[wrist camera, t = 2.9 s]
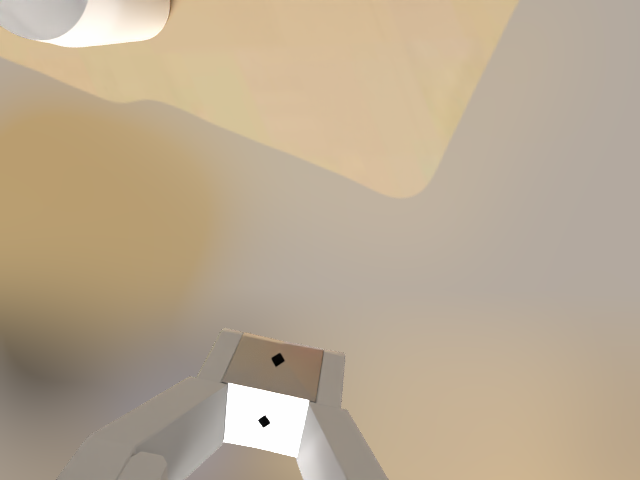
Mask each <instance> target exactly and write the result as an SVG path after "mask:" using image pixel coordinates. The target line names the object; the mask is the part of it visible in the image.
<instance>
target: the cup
mask: <svg viewBox="0 0 640 480" xmlns="http://www.w3.org/2000/svg"><path fill="white" fill-rule="evenodd" d="M169 11H170V0H0V26H2V27H3V28H5V29H6V30H8V31H10V32H11V33H13V34H16V35H18V36H20V37H23V38H27V39H31V40H37V41H42V42H47V43H52V44H56V45H59V46H64V47H87V46H97V45H106V44H115V43H124V42H133V41H142V40H147V39H150V38H152V37H154V36H156V35H157V34H158V33H159V32H160V31H161V30H162V29H163V27H164V26H165V24H166V22H167V19H168V16H169Z"/></svg>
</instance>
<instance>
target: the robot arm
mask: <svg viewBox="0 0 640 480" xmlns="http://www.w3.org/2000/svg"><path fill="white" fill-rule="evenodd" d="M344 366H345V354H344V353H343V352H337V351H332V350H327V349H324V350H323V349H320V348H315V347H311V346H305V345H301V344H296V343H291V342H285V341H280V340H276V339H272V338H268V337H263V336H259V335H254V334H251V333H246V332H245V333H244V332H240V331H236V330H232V329H227V328H224V329H223V330H222V331H221V332H220V334H219V335H218V337H217V339H216V341H215V343H214V345H213V347H212V349H211V351H210V353H209V354H208V356H207V358H206V360H205V362H204V364H203V366H202V368H201V370H200V371H199V373H198V375H197V377H191V376H190V377H188V378H186V379H185V380H183V381H181V382H180V383H178V384H176V385H174V386H173V387H171V388H169V389H168V390H166V391H164V392H162V393H161V394H159V395H157V396H156V397H154V398H152V399H151V400H149V401H147V402H146V403H144V404H142V405H140V406H139V407H137V408H136V409H134V410H132V411H130V412H128V413H127V414H125V415H124V416H122V417H120V418H118V419H117V420H115V421H113V422H112V423H110V424H108V425H106V426H105V427H103V428H101V429H100V430H98V431H96V432H94V433H93V434H91V435H89V436H88V437H87V438H86V439H85V441H84V442H83V443H82V445H81V446H80V447H79V449H78V450H77V451H76V453H75V454H74V456H73V457H72V458H71V460H70V461H69V462H68V464H67V465H66V467H65V468H64V469H63V471H62V472H61V473H60V475H59V476H58V478H57V479H56V480H185V479H186V478H187V477H188V476H189V475H190V474H191V473H192V472H193V471H194V470H195V469H196V468H197V467H199V466H200V465H201V464H202V463H203V462H204V461H205V460H206V459H207V458H208V457H209V456H211V455H212V454H213V453H214V452H215V451H216V450H217V449H218V448H219V447H220V446H221V445H222V444H223V441H225V442H230V443H235V444H240V445H245V446H251V447H256V448H261V449H265V450H269V451H273V452H277V453H281V454H285V455H289V456H294V457H297V458H296V460H297V463H298V466H299V469H300V472H301V475H302V477H303V480H388V478H387V476H386V475H385V473H384V471H383V470H382V468H381V466H380V464H379V463H378V461H377V459H376V458H375V456H374V454H373V453H372V451H371V449H370V447H369V446H368V444H367V442H366V441H365V439H364V437H363V436H362V434H361V432H360V431H359V429H358V427H357V425H356V424H355V422H354V420H353V419H352V417H351V415H350V414H349V412H348V410H345V409H341V402H342V390H343V377H344Z"/></svg>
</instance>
